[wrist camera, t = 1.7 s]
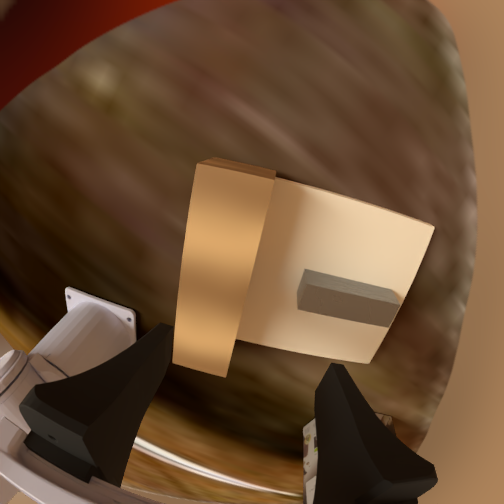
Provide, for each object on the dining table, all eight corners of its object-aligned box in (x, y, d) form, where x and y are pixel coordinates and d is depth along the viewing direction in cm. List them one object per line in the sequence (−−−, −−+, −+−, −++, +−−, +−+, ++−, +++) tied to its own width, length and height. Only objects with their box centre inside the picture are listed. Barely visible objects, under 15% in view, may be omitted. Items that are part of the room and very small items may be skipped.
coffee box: (300, 428, 29) (297, 555, 14) (334, 399, 26) (346, 545, 11) (359, 442, 30) (370, 550, 15) (393, 415, 27) (419, 534, 12)
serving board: (367, 358, 24) (368, 363, 23) (190, 320, 24) (187, 326, 23) (430, 223, 19) (434, 227, 18) (215, 163, 19) (213, 164, 18)
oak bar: (233, 343, 23) (225, 377, 20) (187, 330, 23) (172, 362, 20) (276, 170, 18) (274, 180, 14) (214, 157, 18) (197, 163, 14)
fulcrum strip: (381, 311, 21) (388, 327, 19) (296, 292, 21) (297, 309, 19) (391, 289, 20) (400, 304, 18) (304, 268, 20) (306, 283, 18)
